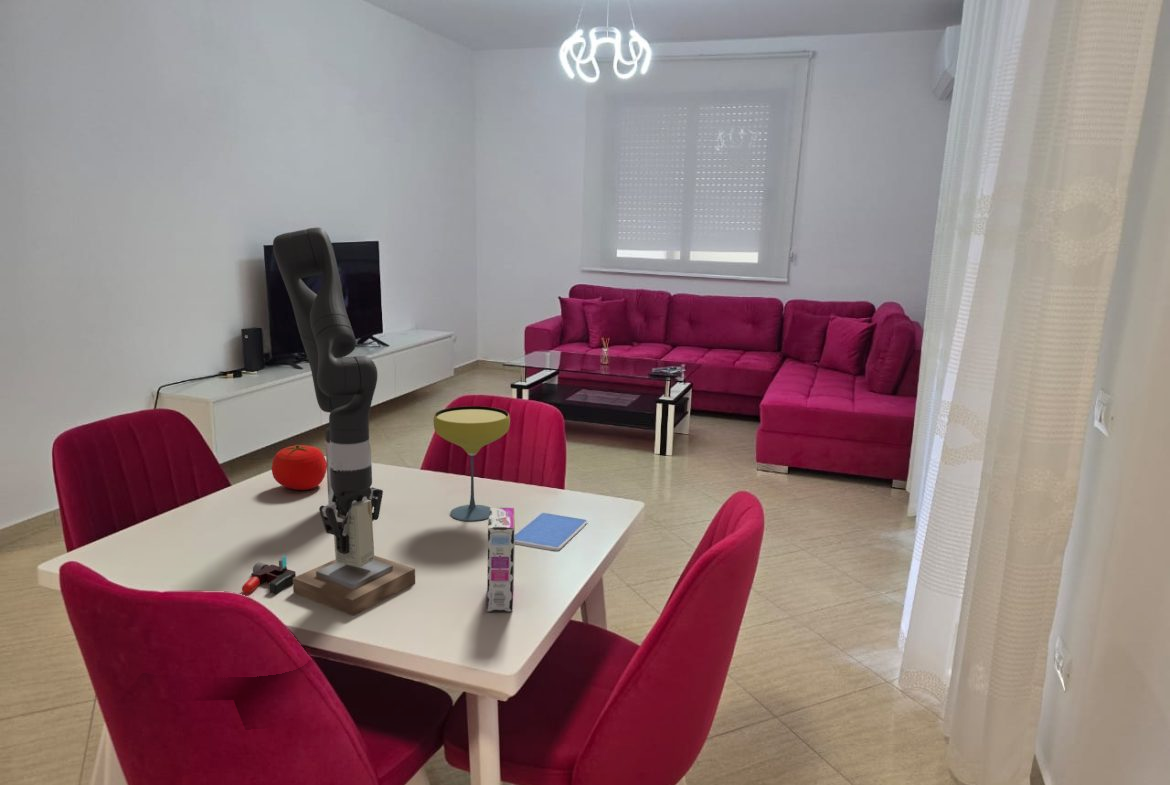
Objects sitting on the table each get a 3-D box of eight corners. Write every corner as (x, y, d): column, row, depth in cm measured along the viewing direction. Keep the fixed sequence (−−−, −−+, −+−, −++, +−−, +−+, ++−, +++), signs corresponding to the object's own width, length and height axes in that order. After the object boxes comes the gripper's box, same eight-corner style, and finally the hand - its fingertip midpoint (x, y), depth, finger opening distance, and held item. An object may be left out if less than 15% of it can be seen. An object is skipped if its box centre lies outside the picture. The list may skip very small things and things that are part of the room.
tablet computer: (541, 516, 192) (541, 511, 192) (589, 523, 188) (589, 518, 187) (506, 544, 174) (506, 539, 174) (558, 553, 170) (559, 548, 170)
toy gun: (261, 569, 158) (259, 547, 157) (303, 583, 153) (302, 559, 152) (219, 588, 150) (217, 564, 149) (263, 603, 144) (261, 578, 143)
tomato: (337, 484, 210) (336, 442, 207) (300, 499, 198) (298, 455, 195) (301, 477, 215) (299, 436, 213) (262, 491, 203) (260, 448, 200)
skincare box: (375, 560, 150) (373, 500, 148) (360, 568, 146) (357, 507, 144) (349, 553, 153) (347, 494, 150) (333, 561, 149) (331, 501, 146)
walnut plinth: (357, 563, 161) (357, 545, 160) (415, 582, 153) (415, 563, 152) (293, 592, 148) (292, 573, 147) (353, 615, 140) (352, 595, 139)
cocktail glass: (522, 518, 189) (523, 417, 184) (454, 532, 179) (453, 427, 174) (488, 496, 203) (488, 403, 198) (423, 508, 193) (421, 410, 188)
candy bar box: (514, 612, 142) (514, 528, 139) (486, 613, 142) (486, 528, 138) (514, 585, 153) (514, 506, 150) (488, 585, 153) (488, 506, 149)
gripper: (365, 450, 153) (368, 532, 157) (305, 468, 141) (310, 556, 145) (393, 457, 149) (395, 540, 153) (334, 476, 137) (338, 566, 141)
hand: (353, 547), depth 149 cm, fingers closed on skincare box, 4 cm apart
